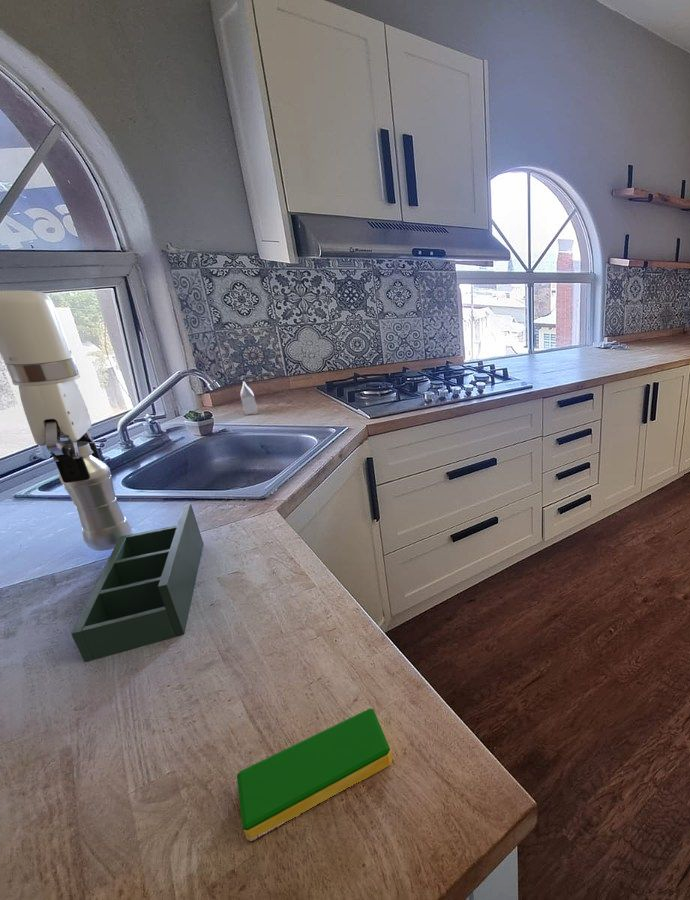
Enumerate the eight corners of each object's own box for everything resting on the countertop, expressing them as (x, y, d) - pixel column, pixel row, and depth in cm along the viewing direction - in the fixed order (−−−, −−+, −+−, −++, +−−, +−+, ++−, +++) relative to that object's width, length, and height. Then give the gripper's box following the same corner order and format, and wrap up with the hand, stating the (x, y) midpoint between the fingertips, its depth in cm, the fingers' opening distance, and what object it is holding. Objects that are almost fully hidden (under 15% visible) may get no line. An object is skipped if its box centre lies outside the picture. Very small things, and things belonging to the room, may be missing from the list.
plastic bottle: (127, 532, 97) (91, 435, 89) (142, 543, 93) (106, 443, 86) (82, 548, 91) (40, 446, 84) (96, 559, 88) (54, 455, 81)
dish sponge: (241, 787, 54) (236, 772, 53) (375, 720, 62) (372, 706, 61) (248, 845, 49) (242, 829, 48) (393, 764, 57) (390, 749, 56)
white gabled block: (256, 408, 174) (250, 380, 170) (258, 413, 169) (251, 384, 165) (244, 409, 172) (237, 381, 168) (245, 415, 167) (237, 386, 163)
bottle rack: (84, 662, 69) (59, 610, 66) (128, 559, 91) (112, 516, 88) (184, 634, 75) (166, 584, 71) (203, 544, 97) (190, 502, 93)
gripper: (31, 362, 85) (69, 459, 92) (-14, 386, 71) (35, 497, 78) (91, 359, 89) (123, 452, 95) (58, 381, 75) (99, 487, 82)
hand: (83, 471), depth 87 cm, fingers closed on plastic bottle, 6 cm apart
